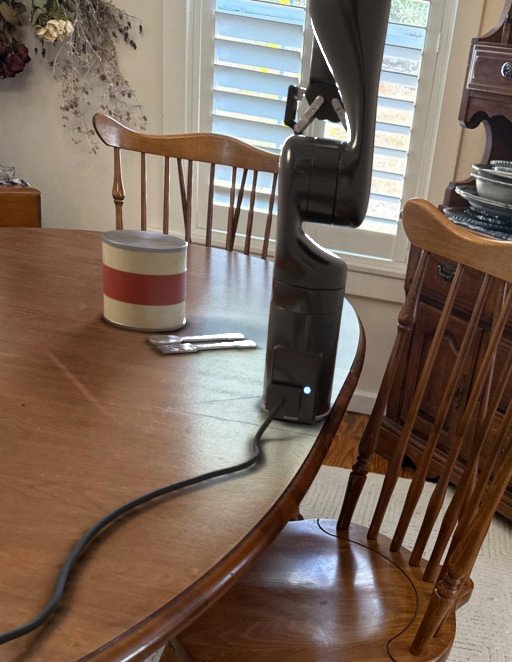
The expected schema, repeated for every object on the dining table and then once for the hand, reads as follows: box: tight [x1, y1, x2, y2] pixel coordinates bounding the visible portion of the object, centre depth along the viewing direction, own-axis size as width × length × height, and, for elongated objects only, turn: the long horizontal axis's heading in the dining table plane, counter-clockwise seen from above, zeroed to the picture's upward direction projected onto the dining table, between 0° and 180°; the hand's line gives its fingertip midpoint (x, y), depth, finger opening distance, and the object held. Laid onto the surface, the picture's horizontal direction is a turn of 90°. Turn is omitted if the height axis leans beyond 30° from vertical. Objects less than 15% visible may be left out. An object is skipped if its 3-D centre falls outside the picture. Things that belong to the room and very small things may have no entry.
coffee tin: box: [101, 229, 189, 333], centre depth 126 cm, size 13×13×13 cm
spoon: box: [148, 332, 246, 346], centre depth 124 cm, size 16×4×1 cm, turn 126°
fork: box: [156, 340, 257, 355], centre depth 121 cm, size 16×3×1 cm, turn 126°
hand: (324, 162), depth 129 cm, fingers open, 8 cm apart
